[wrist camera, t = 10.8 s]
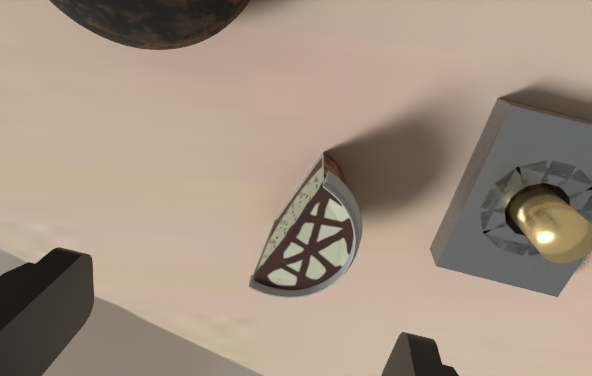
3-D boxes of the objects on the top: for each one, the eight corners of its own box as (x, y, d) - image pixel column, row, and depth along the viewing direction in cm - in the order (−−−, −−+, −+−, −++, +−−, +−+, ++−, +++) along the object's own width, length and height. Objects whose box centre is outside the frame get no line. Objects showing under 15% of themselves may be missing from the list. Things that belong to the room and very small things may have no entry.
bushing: (511, 171, 35) (554, 212, 28) (553, 182, 35) (608, 225, 28) (492, 208, 37) (528, 255, 29) (532, 218, 37) (579, 268, 29)
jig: (498, 98, 32) (512, 105, 30) (635, 132, 32) (661, 142, 30) (429, 248, 39) (436, 265, 37) (542, 277, 39) (557, 296, 36)
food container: (315, 259, 42) (306, 326, 33) (267, 230, 41) (245, 291, 32) (384, 173, 37) (397, 225, 28) (332, 139, 36) (327, 180, 27)
